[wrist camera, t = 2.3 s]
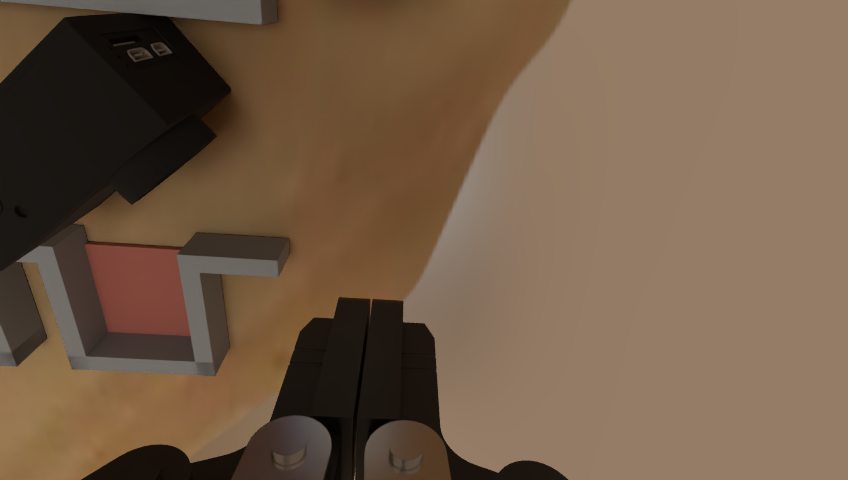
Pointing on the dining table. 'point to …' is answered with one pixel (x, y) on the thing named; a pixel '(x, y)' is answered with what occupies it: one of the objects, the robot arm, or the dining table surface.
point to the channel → (138, 267)
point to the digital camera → (97, 121)
